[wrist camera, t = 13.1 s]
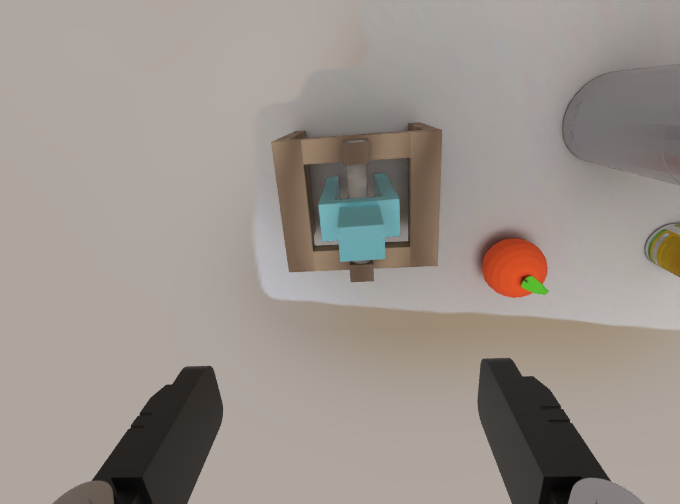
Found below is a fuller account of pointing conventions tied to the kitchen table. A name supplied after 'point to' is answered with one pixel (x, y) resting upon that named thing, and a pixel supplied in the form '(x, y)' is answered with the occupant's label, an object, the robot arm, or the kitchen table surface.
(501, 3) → the kitchen table surface
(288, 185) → the wooden rod stand
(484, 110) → the kitchen table surface
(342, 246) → the teal tuning fork
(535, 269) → the clementine
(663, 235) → the supplement bottle
